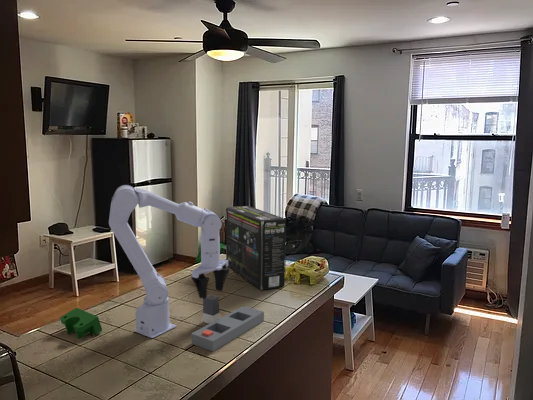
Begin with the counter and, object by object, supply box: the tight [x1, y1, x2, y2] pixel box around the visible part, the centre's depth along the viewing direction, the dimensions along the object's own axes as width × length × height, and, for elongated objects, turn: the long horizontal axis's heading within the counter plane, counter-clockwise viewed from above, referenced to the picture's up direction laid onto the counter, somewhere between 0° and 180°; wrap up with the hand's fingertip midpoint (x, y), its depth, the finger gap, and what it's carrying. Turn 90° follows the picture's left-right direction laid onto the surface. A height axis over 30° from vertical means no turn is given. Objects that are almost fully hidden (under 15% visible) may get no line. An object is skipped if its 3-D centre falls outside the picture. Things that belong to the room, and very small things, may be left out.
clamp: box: [59, 307, 103, 340], centre depth 129 cm, size 12×6×9 cm, turn 48°
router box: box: [225, 205, 287, 291], centre depth 180 cm, size 36×11×27 cm, turn 27°
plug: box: [202, 294, 220, 325], centre depth 137 cm, size 3×4×8 cm
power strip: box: [190, 305, 265, 352], centre depth 130 cm, size 24×8×4 cm, turn 145°
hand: (211, 293), depth 136 cm, fingers open, 7 cm apart
